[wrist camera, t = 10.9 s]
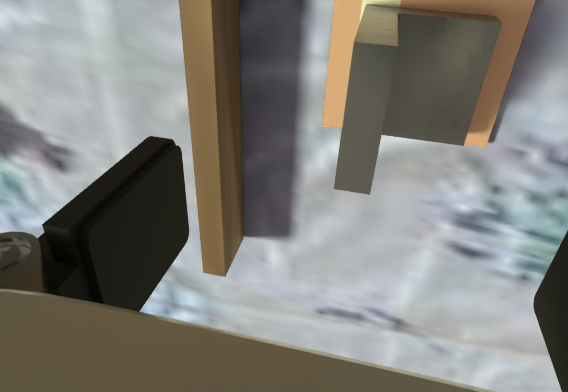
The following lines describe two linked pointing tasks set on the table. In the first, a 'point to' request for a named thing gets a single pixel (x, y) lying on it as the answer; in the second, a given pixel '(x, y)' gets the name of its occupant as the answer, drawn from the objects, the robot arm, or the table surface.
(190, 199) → the table surface
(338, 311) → the table surface
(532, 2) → the pad
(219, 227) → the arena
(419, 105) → the bracket
